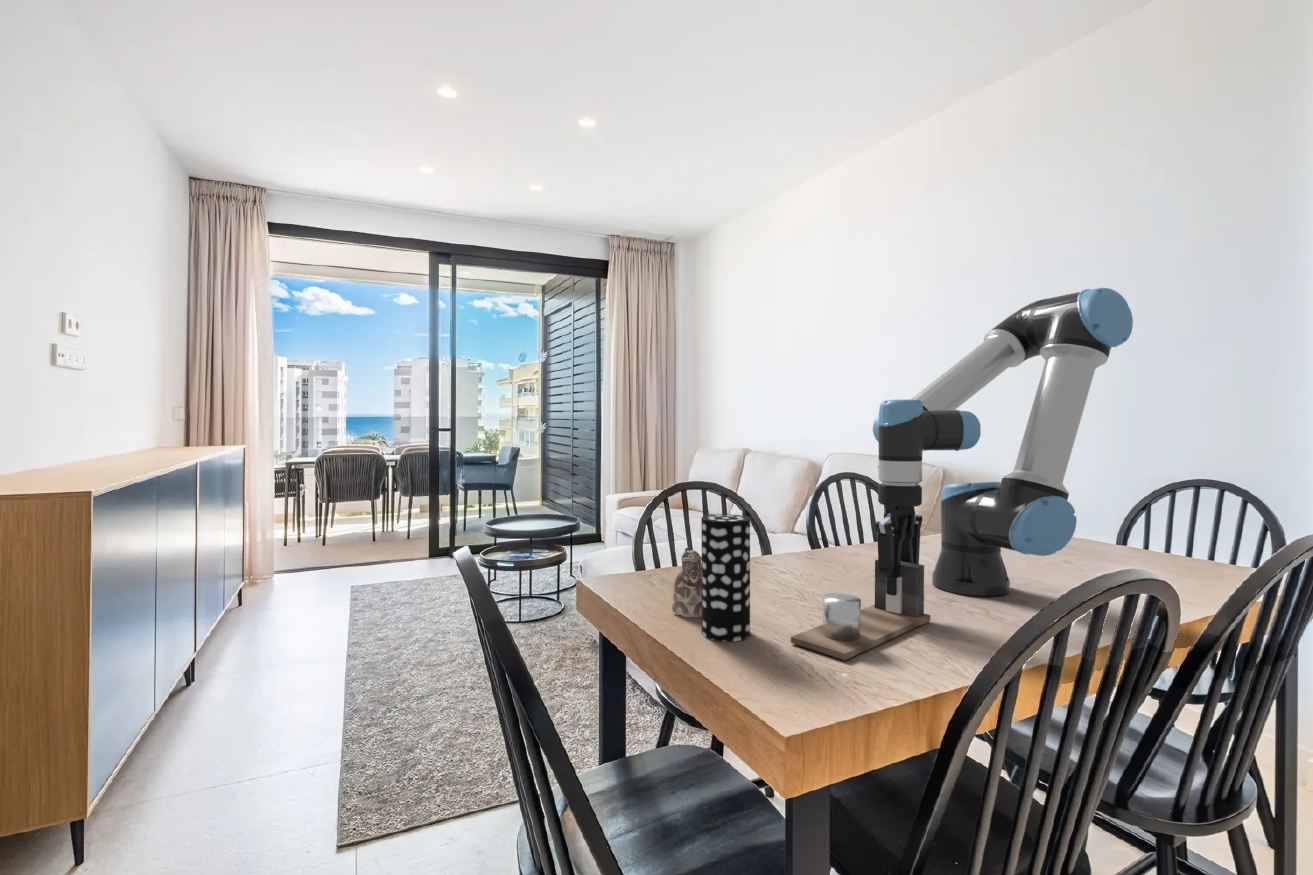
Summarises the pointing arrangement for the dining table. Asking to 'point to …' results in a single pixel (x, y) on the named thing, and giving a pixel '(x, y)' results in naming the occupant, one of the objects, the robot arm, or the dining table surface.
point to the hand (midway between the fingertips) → (898, 609)
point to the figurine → (688, 586)
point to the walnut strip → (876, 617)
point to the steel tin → (841, 617)
